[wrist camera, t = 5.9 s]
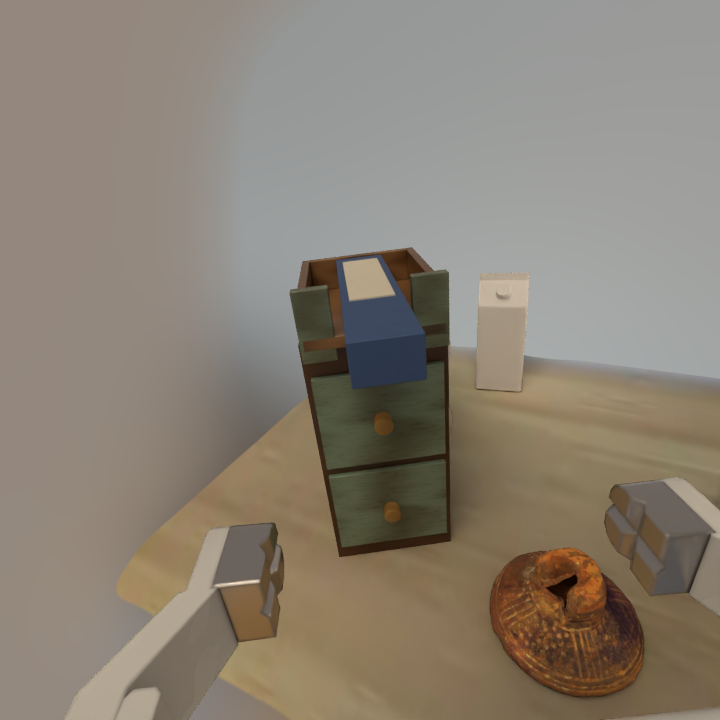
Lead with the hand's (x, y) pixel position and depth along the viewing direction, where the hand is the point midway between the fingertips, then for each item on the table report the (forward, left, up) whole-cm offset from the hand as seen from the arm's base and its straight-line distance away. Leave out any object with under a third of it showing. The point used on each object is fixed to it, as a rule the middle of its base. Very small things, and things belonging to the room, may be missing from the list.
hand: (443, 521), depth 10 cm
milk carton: (-23, -53, -30) cm, 66 cm away
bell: (-13, -13, -30) cm, 36 cm away
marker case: (0, -23, -4) cm, 23 cm away
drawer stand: (0, -28, -30) cm, 41 cm away
